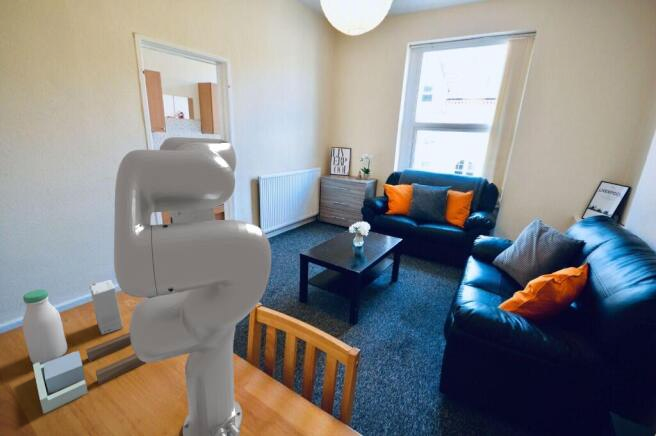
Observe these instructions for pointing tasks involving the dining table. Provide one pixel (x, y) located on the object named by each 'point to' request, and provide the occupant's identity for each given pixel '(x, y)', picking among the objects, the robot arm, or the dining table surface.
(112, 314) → the skincare box
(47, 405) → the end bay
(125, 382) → the dining table surface
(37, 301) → the milk bottle
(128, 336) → the brown parallel rails
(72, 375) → the block
